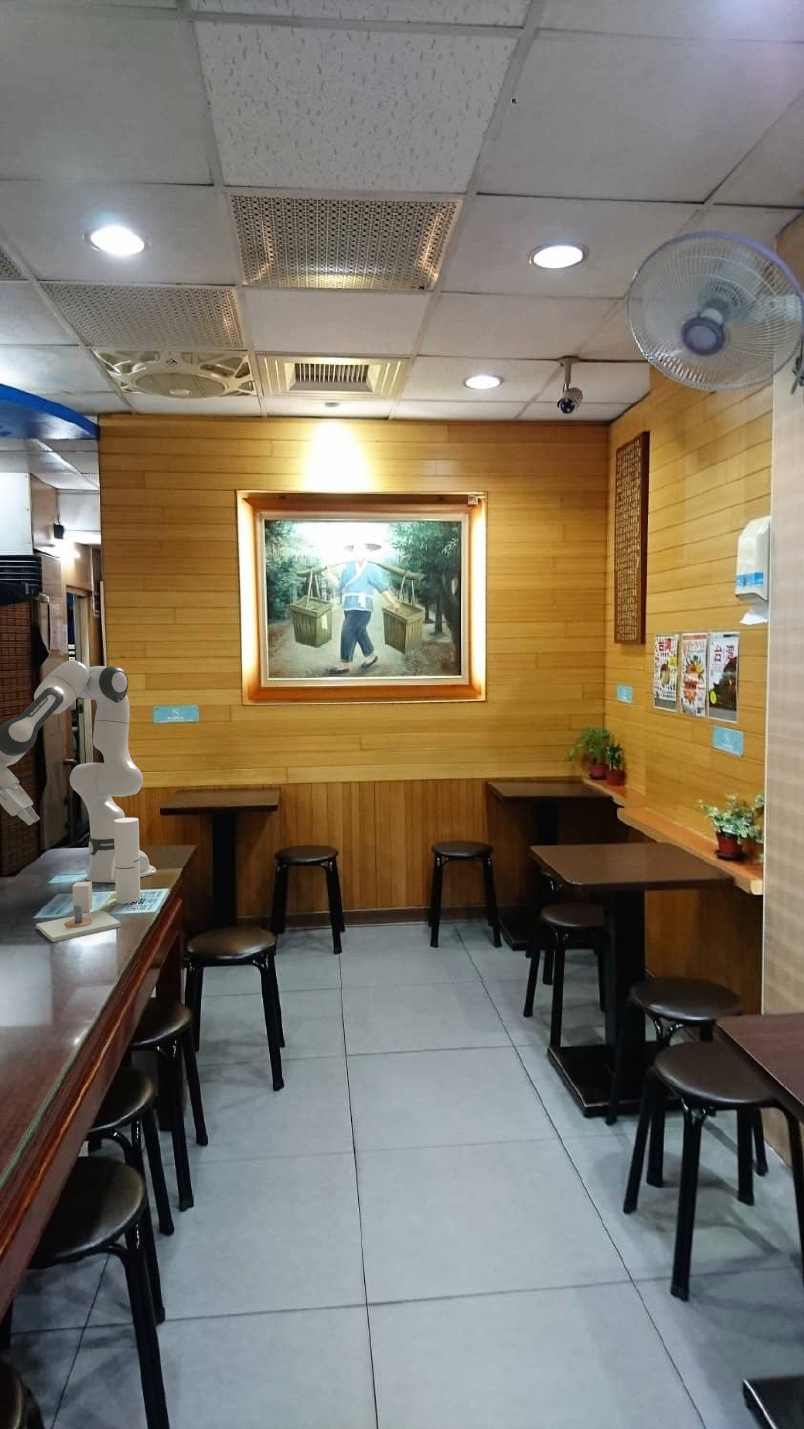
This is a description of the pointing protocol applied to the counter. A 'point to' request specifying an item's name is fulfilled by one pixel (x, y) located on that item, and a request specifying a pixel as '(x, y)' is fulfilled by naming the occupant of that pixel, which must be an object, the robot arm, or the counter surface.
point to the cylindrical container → (127, 860)
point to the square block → (83, 896)
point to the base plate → (77, 924)
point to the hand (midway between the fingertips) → (34, 822)
